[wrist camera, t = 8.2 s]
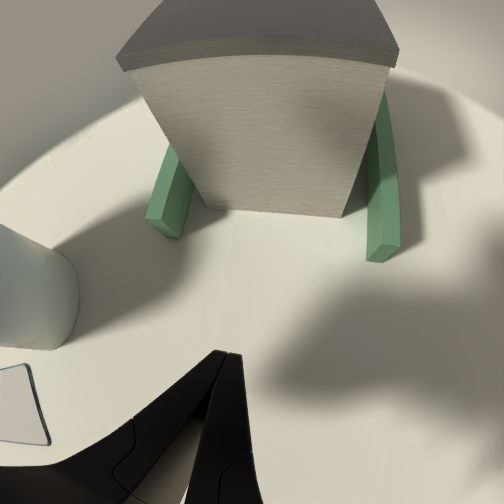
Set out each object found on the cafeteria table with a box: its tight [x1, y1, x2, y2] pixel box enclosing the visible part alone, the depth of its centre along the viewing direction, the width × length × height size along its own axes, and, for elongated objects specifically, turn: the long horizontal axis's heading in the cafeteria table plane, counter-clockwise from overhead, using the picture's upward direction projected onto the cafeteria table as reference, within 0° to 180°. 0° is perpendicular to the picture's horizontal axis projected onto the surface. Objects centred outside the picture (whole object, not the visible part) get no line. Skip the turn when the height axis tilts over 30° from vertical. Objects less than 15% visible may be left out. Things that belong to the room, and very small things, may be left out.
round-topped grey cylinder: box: [0, 224, 79, 350], centre depth 13 cm, size 8×8×9 cm
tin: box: [116, 0, 399, 219], centre depth 13 cm, size 8×8×12 cm
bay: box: [145, 91, 401, 263], centre depth 17 cm, size 12×13×3 cm
